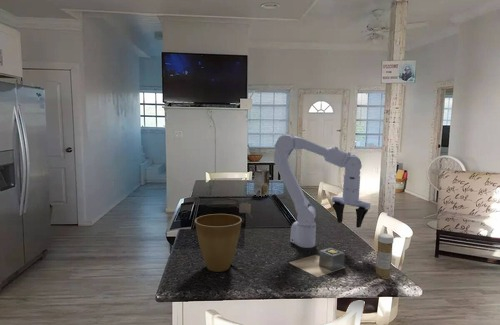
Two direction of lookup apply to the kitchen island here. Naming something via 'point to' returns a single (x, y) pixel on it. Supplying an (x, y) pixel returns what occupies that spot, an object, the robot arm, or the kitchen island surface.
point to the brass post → (332, 252)
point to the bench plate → (311, 266)
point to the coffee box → (261, 182)
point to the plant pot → (218, 239)
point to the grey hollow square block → (331, 259)
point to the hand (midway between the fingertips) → (349, 224)
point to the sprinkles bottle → (384, 255)
